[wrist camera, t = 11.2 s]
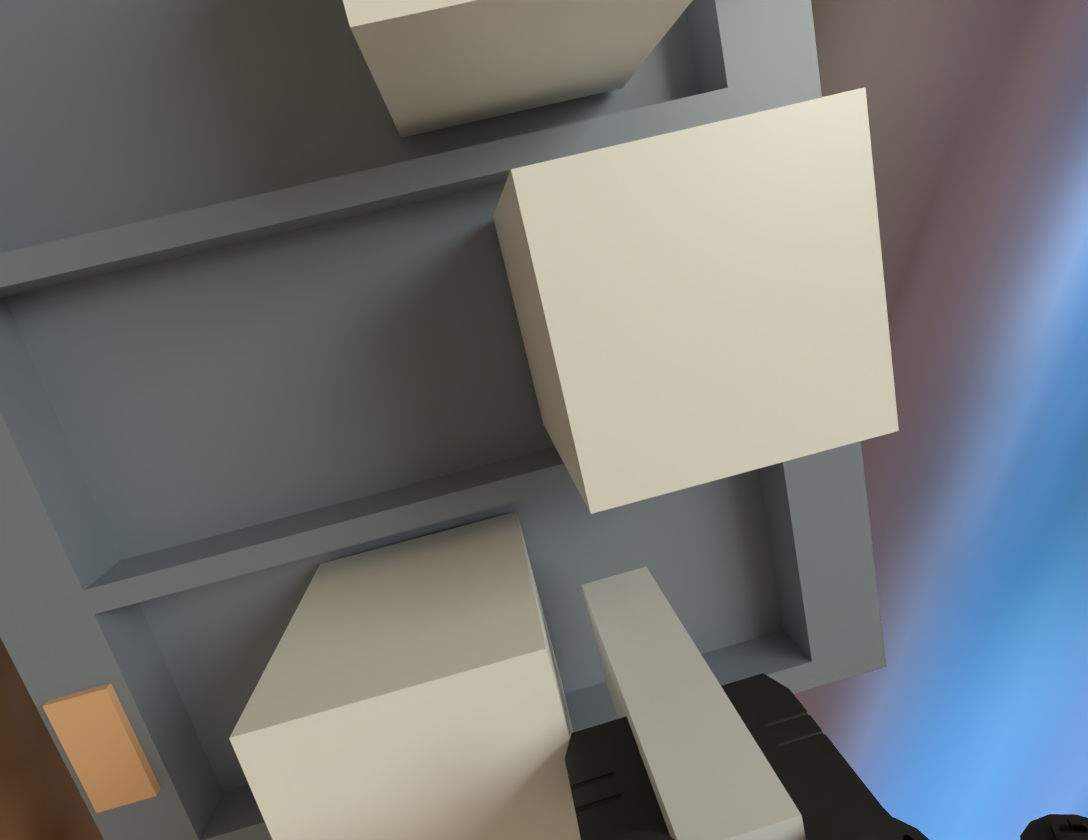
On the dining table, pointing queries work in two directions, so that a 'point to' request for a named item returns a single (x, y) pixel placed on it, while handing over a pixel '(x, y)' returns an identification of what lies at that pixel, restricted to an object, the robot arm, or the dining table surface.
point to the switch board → (327, 380)
